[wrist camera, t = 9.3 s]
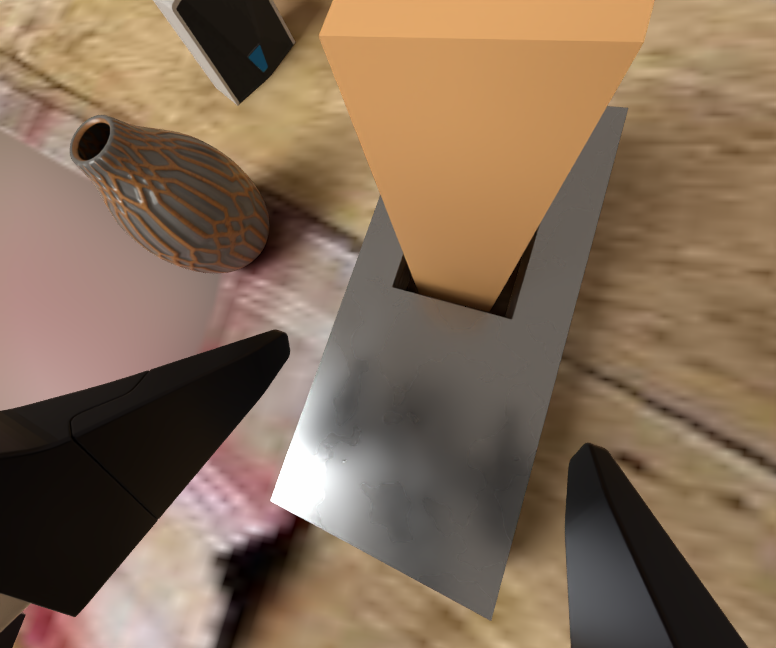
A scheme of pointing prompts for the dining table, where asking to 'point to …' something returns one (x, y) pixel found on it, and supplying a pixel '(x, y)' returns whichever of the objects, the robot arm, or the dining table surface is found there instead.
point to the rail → (442, 400)
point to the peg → (476, 119)
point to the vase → (174, 194)
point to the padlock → (231, 40)
